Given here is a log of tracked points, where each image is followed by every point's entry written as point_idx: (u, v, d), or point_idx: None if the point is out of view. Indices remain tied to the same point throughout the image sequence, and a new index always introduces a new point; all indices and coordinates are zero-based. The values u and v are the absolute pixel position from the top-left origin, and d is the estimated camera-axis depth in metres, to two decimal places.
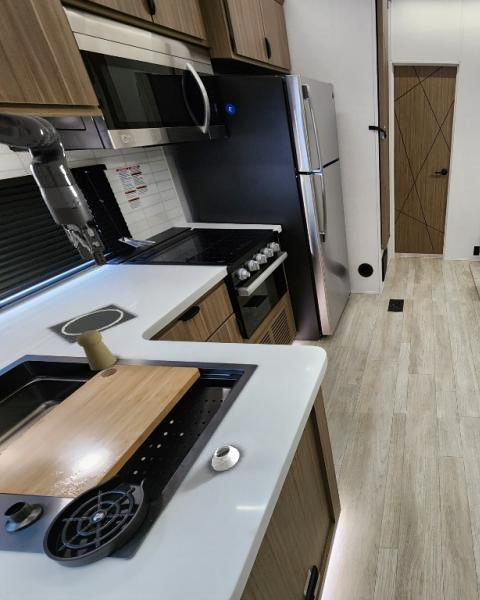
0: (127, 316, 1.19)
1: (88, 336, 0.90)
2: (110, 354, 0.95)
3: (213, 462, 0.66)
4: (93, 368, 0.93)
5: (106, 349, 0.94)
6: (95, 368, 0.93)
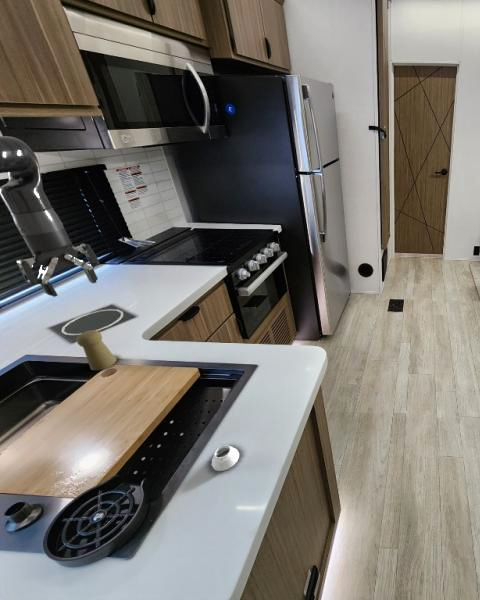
0: (127, 316, 1.19)
1: (88, 336, 0.90)
2: (110, 354, 0.95)
3: (213, 462, 0.66)
4: (93, 368, 0.93)
5: (106, 349, 0.94)
6: (95, 368, 0.93)
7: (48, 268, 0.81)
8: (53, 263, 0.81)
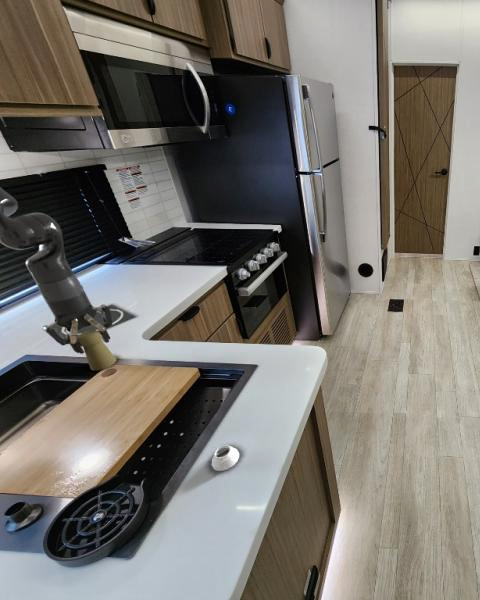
0: (127, 316, 1.19)
1: (88, 336, 0.90)
2: (110, 354, 0.95)
3: (213, 462, 0.66)
4: (93, 368, 0.93)
5: (106, 349, 0.94)
6: (95, 368, 0.93)
7: (72, 330, 0.86)
8: (73, 325, 0.86)
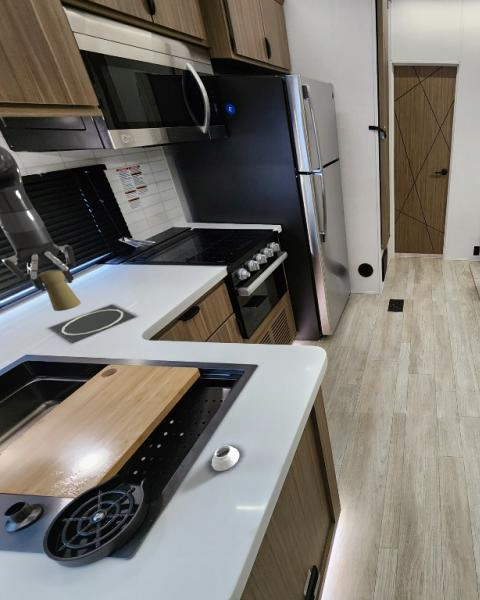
0: (127, 316, 1.19)
1: (49, 273, 0.91)
2: (73, 295, 0.96)
3: (213, 462, 0.66)
4: (55, 307, 0.94)
5: (69, 289, 0.95)
6: (57, 307, 0.94)
7: (32, 265, 0.87)
8: (33, 259, 0.87)
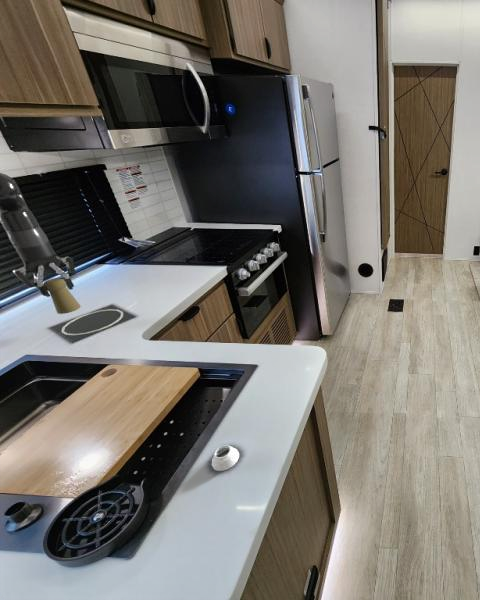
0: (127, 316, 1.19)
1: (53, 281, 1.05)
2: (74, 300, 1.10)
3: (213, 462, 0.66)
4: (59, 310, 1.08)
5: (70, 295, 1.09)
6: (60, 310, 1.08)
7: (38, 274, 1.02)
8: (39, 270, 1.01)
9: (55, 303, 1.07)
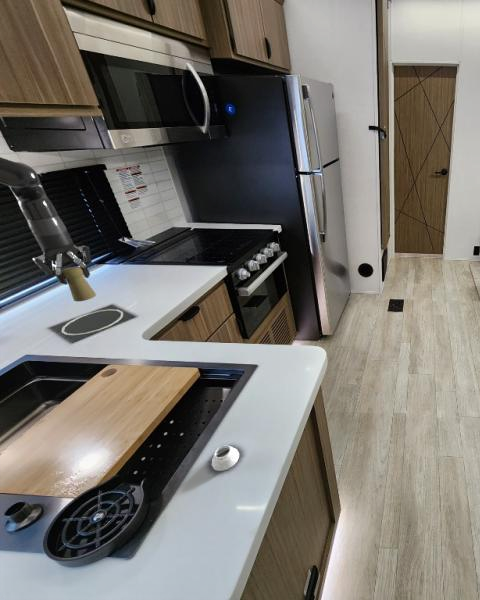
0: (127, 316, 1.19)
1: (71, 269, 1.08)
2: (90, 288, 1.13)
3: (213, 462, 0.66)
4: (76, 298, 1.11)
5: (86, 283, 1.12)
6: (77, 298, 1.11)
7: (57, 262, 1.05)
8: (58, 258, 1.04)
9: (72, 291, 1.10)
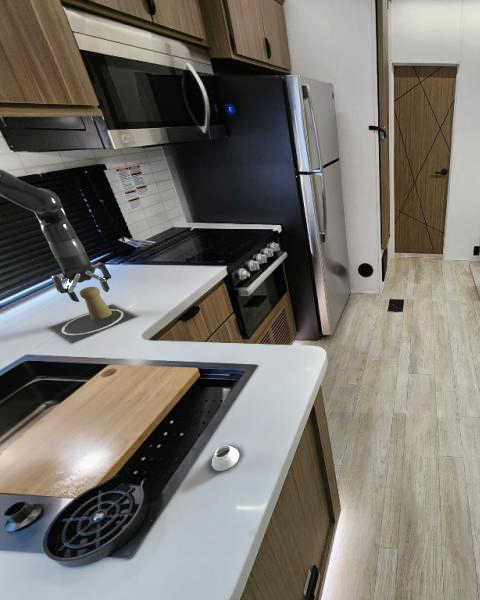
0: (127, 316, 1.19)
1: (89, 290, 1.13)
2: (106, 306, 1.19)
3: (213, 462, 0.66)
4: (93, 316, 1.16)
5: (103, 302, 1.18)
6: (94, 317, 1.16)
7: (73, 281, 1.09)
8: (76, 277, 1.09)
9: (90, 310, 1.15)
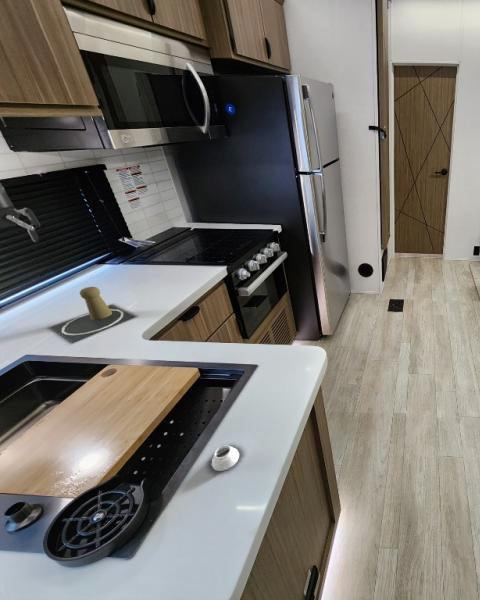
0: (127, 316, 1.19)
1: (89, 290, 1.13)
2: (106, 306, 1.19)
3: (213, 462, 0.66)
4: (93, 316, 1.16)
5: (103, 302, 1.18)
6: (94, 317, 1.16)
7: None
8: None
9: (90, 310, 1.15)
